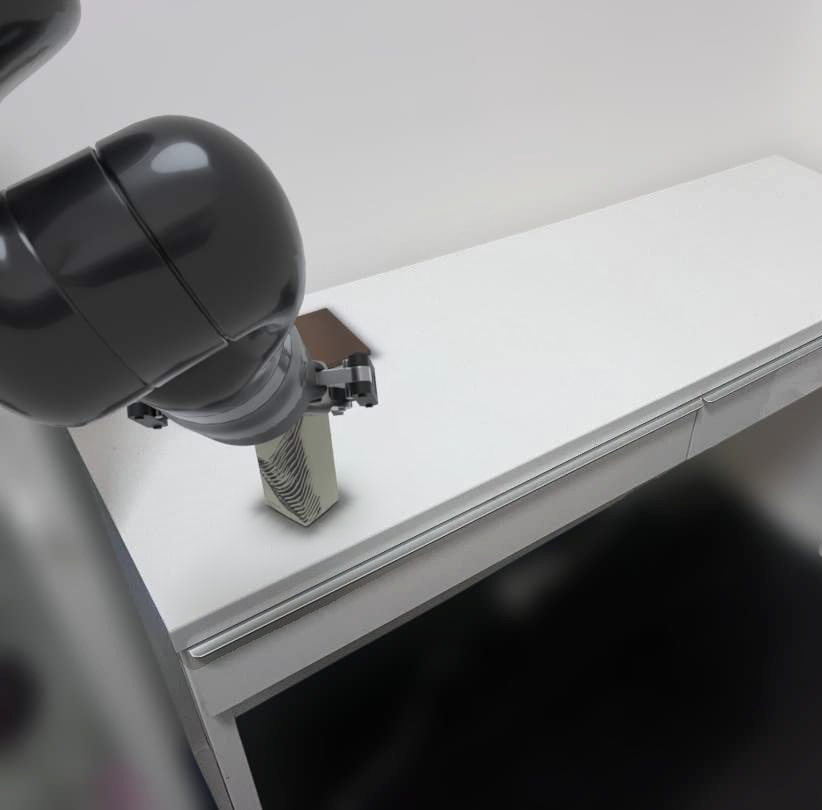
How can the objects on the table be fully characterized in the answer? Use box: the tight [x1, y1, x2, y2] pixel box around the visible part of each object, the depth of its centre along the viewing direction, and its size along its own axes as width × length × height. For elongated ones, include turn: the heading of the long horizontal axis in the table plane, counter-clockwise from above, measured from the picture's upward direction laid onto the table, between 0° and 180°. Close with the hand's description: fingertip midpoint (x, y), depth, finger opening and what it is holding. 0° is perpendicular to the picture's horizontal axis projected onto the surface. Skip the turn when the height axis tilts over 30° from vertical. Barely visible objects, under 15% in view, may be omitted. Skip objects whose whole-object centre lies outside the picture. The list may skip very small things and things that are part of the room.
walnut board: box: [294, 307, 372, 370], centre depth 88 cm, size 20×11×1 cm, turn 128°
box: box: [254, 413, 340, 527], centre depth 67 cm, size 5×4×13 cm
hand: (275, 407), depth 57 cm, fingers open, 8 cm apart
